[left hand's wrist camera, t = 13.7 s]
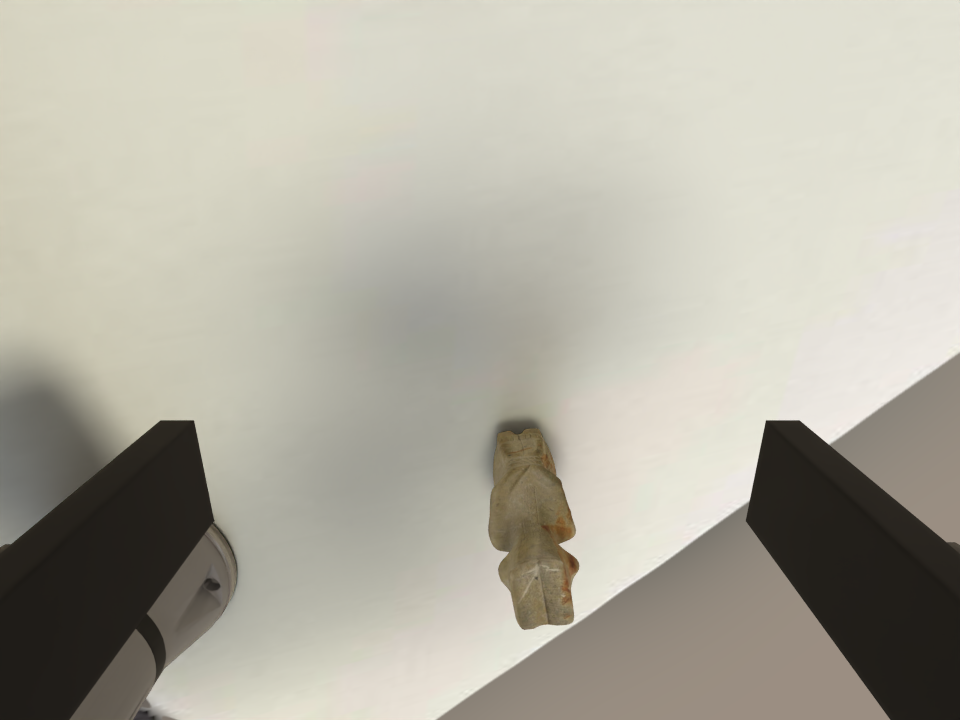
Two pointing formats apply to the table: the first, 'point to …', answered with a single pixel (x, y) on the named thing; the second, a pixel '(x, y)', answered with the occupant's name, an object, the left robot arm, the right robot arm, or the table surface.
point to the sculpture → (532, 530)
